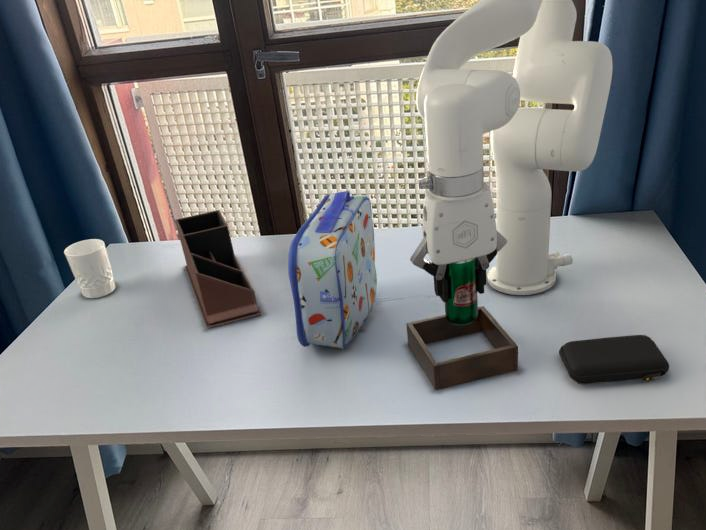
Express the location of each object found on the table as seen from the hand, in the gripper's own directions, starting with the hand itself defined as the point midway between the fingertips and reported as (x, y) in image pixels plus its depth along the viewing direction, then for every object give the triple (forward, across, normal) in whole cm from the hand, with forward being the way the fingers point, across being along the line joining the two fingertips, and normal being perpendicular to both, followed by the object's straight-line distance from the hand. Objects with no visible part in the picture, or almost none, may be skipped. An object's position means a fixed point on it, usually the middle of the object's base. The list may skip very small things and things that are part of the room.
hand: (460, 292), depth 107 cm
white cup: (+12, -61, +52) cm, 81 cm away
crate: (+12, -1, -1) cm, 12 cm away
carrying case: (+12, +19, -13) cm, 26 cm away
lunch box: (+12, -16, +19) cm, 28 cm away
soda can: (+5, 0, 0) cm, 5 cm away
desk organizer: (+12, -36, +41) cm, 56 cm away
